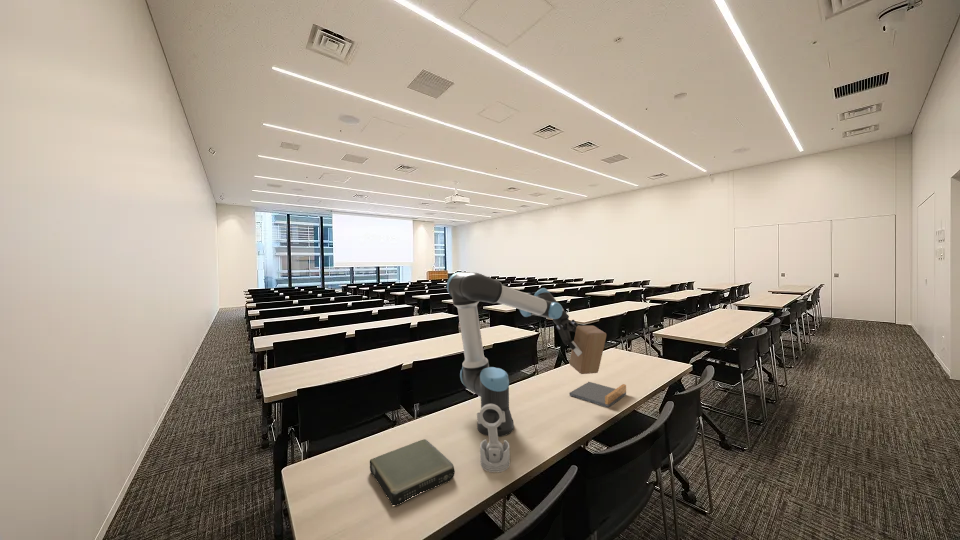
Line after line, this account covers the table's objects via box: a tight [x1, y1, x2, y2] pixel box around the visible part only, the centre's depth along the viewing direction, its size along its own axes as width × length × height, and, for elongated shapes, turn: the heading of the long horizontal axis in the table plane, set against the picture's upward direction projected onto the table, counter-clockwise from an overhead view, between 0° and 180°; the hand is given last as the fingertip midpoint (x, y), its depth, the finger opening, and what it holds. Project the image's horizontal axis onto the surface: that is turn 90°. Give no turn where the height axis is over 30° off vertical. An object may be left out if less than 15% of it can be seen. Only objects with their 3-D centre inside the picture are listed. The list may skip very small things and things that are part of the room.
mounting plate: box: [568, 381, 627, 409], centre depth 168 cm, size 20×20×5 cm
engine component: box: [476, 404, 511, 473], centre depth 115 cm, size 11×20×10 cm
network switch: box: [369, 438, 456, 506], centre depth 110 cm, size 23×23×5 cm
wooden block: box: [568, 325, 607, 375], centre depth 155 cm, size 10×10×20 cm
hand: (587, 351), depth 155 cm, fingers closed on wooden block, 12 cm apart
